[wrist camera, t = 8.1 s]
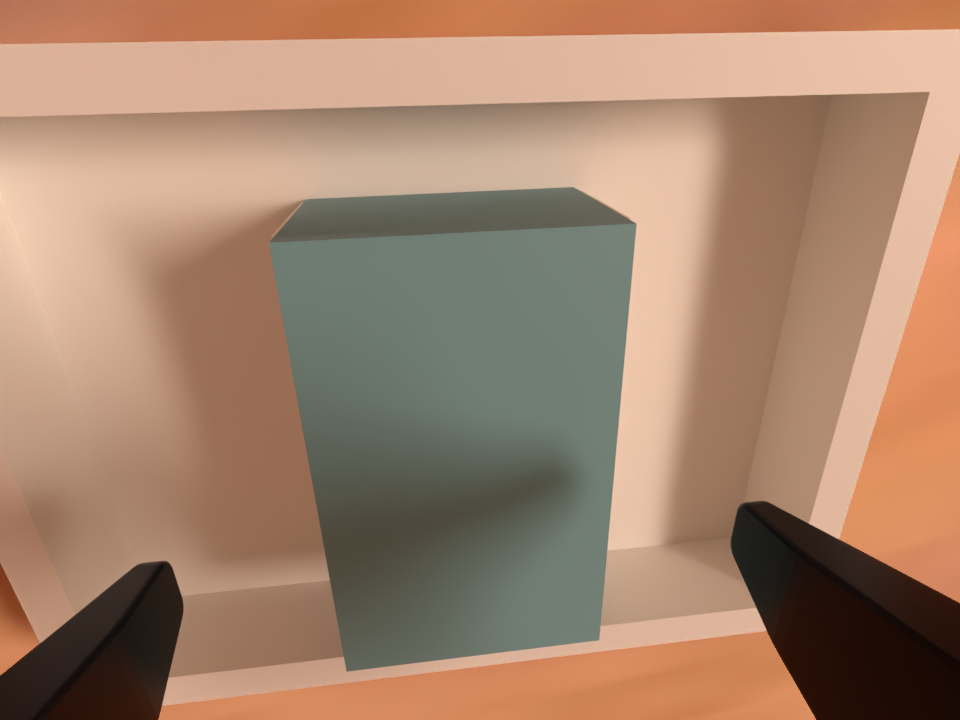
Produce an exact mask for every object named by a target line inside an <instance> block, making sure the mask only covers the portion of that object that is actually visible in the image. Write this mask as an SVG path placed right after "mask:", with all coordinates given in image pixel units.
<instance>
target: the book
mask: <svg viewBox="0 0 960 720" xmlns="http://www.w3.org/2000/svg"><path fill="white" fill-rule="evenodd" d="M636 225H637V224H636V223H635V222H633V221H631V218H629V217H627V216H626V215H624V214H622V213H620V212H619V211H617V210H615V209H613V208H612V207H610V206H608V205H606V204H605V203H603V202H601V201H599V200H598V199H596V198H594V197H592V196H591V195H589V194H587V193H585V192H584V191H582V190H578V189H576V188H574V187H562V188H540V189H518V190H496V191H474V192H452V193H430V194H408V195H386V196H364V197H342V198H319V199H306V200H305V201H304V202H301V203H300V204H299V205H298V207H297V208H296V209H295V210H294V211H293V212H292V213H291V215H290V216H289V217H288V218H287V219H286V220H285V221H284V222H283V224H282V225H281V226H280V227H279V228H278V229H277V230H276V232H275V233H274V234H273V235H272V236H271V241H270V242H269V247H270V253H271V258H272V264H273V269H274V275H275V280H276V286H277V291H278V297H279V302H280V308H281V314H282V319H283V325H284V330H285V336H286V341H287V347H288V352H289V358H290V363H291V369H292V374H293V380H294V385H295V391H296V396H297V402H298V407H299V413H300V418H301V424H302V429H303V435H304V440H305V446H306V451H307V457H308V462H309V468H310V473H311V479H312V484H313V490H314V495H315V501H316V506H317V512H318V517H319V523H320V528H321V534H322V539H323V545H324V550H325V556H326V561H327V567H328V572H329V578H330V583H331V589H332V594H333V600H334V606H335V611H336V617H337V622H338V628H339V633H340V639H341V644H342V650H343V655H344V661H345V666H346V672H348V671H356V670H364V669H372V668H380V667H388V666H396V665H404V664H412V663H420V662H429V661H437V660H445V659H453V658H461V657H469V656H477V655H485V654H493V653H501V652H509V651H517V650H525V649H533V648H541V647H549V646H557V645H566V644H574V643H582V642H590V641H598V640H599V637H600V626H601V615H602V604H603V593H604V582H605V570H606V559H607V548H608V537H609V526H610V515H611V504H612V493H613V481H614V470H615V459H616V448H617V437H618V426H619V415H620V404H621V392H622V381H623V370H624V359H625V348H626V337H627V326H628V315H629V303H630V292H631V281H632V270H633V259H634V248H635V237H636Z"/></svg>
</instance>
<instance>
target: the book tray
mask: <svg viewBox="0 0 960 720" xmlns="http://www.w3.org/2000/svg"><path fill="white" fill-rule="evenodd" d="M959 154H960V29H955V30H891V31H826V32H761V33H697V34H632V35H567V36H503V37H438V38H373V39H308V40H244V41H179V42H114V43H50V44H0V564H1V566H2V568H3V570H4V572H5V574H6V576H7V578H8V580H9V582H10V584H11V586H12V588H13V590H14V592H15V594H16V596H17V598H18V600H19V602H20V604H21V606H22V608H23V610H24V612H25V614H26V616H27V618H28V620H29V622H30V624H31V626H32V628H33V630H34V632H35V634H36V636H37V638H38V640H39V642H40V643H41V642H42V641H44V640H45V639H46V638H47V637H49V636H50V635H51V634H52V633H53V632H55V631H56V630H57V629H58V628H60V627H61V626H62V625H63V624H64V623H66V622H67V621H68V620H69V619H71V618H72V617H73V616H74V615H75V614H77V613H78V612H79V611H80V610H82V609H83V608H84V607H85V606H86V605H88V604H89V603H90V602H91V601H93V600H94V599H95V598H96V597H98V596H99V595H100V594H101V593H102V592H104V591H105V590H106V589H107V588H109V587H110V586H111V585H112V584H113V583H115V582H116V581H117V580H118V579H120V578H121V577H122V576H123V575H124V574H126V573H127V572H128V571H129V570H131V569H132V568H133V567H135V566H136V565H138V564H140V563H145V562H155V561H167V562H169V563H170V564H171V566H172V568H173V571H174V574H175V577H176V580H177V583H178V586H179V589H180V592H181V595H182V598H183V604H184V611H183V618H182V622H181V626H180V631H179V635H178V639H177V644H176V648H175V652H174V656H173V661H172V665H171V669H170V674H169V678H168V682H167V686H166V691H165V695H164V699H163V703H162V706H165V705H173V704H181V703H189V702H197V701H205V700H213V699H221V698H229V697H237V696H246V695H254V694H262V693H270V692H278V691H286V690H294V689H302V688H310V687H318V686H326V685H334V684H342V683H350V682H359V681H367V680H375V679H383V678H391V677H399V676H407V675H415V674H423V673H431V672H439V671H447V670H455V669H463V668H472V667H480V666H488V665H496V664H504V663H512V662H520V661H528V660H536V659H544V658H552V657H560V656H568V655H577V654H585V653H593V652H601V651H609V650H617V649H625V648H633V647H641V646H649V645H657V644H665V643H673V642H681V641H690V640H698V639H706V638H714V637H722V636H730V635H738V634H746V633H754V632H762V631H767V630H766V628H765V626H764V624H763V622H762V619H761V617H760V615H759V613H758V610H757V608H756V606H755V604H754V602H753V599H752V597H751V595H750V593H749V591H748V588H747V586H746V584H745V582H744V579H743V577H742V575H741V573H740V571H739V568H738V566H737V564H736V562H735V560H734V557H733V555H732V551H731V536H732V531H733V526H734V522H735V517H736V512H737V509H738V507H739V505H740V504H742V503H744V502H753V501H767V502H769V503H771V504H773V505H775V506H777V507H779V508H780V509H782V510H784V511H786V512H788V513H790V514H792V515H794V516H796V517H798V518H799V519H801V520H803V521H805V522H807V523H809V524H811V525H813V526H815V527H816V528H818V529H820V530H822V531H824V532H826V533H828V534H830V535H832V536H834V537H835V538H837V539H839V538H840V535H841V531H842V528H843V525H844V522H845V519H846V515H847V512H848V509H849V506H850V503H851V499H852V496H853V493H854V490H855V487H856V483H857V480H858V477H859V474H860V471H861V467H862V464H863V461H864V458H865V455H866V451H867V448H868V445H869V442H870V439H871V435H872V432H873V429H874V426H875V423H876V419H877V416H878V413H879V410H880V407H881V403H882V400H883V397H884V394H885V391H886V387H887V384H888V381H889V378H890V375H891V371H892V368H893V365H894V362H895V359H896V355H897V352H898V349H899V346H900V343H901V339H902V336H903V333H904V330H905V327H906V323H907V320H908V317H909V314H910V311H911V307H912V304H913V301H914V298H915V295H916V291H917V288H918V285H919V282H920V279H921V275H922V272H923V269H924V266H925V263H926V259H927V256H928V253H929V250H930V247H931V243H932V240H933V237H934V234H935V231H936V227H937V224H938V221H939V218H940V215H941V211H942V208H943V205H944V202H945V199H946V195H947V192H948V189H949V186H950V183H951V179H952V176H953V173H954V170H955V167H956V163H957V160H958V157H959ZM562 187H574V188H576V189H578V190H582V191H584V192H585V193H587V194H589V195H591V196H592V197H594V198H596V199H598V200H599V201H601V202H603V203H605V204H606V205H608V206H610V207H612V208H613V209H615V210H617V211H619V212H620V213H622V214H624V215H626V216H627V217H629V218H631V221H633V222H635V223H636V224H637V225H636V237H635V248H634V259H633V270H632V281H631V292H630V303H629V315H628V326H627V337H626V348H625V359H624V370H623V381H622V392H621V404H620V415H619V426H618V437H617V448H616V459H615V470H614V481H613V493H612V504H611V515H610V526H609V537H608V548H607V559H606V570H605V582H604V593H603V604H602V615H601V626H600V637H599V640H598V641H590V642H582V643H574V644H566V645H557V646H549V647H541V648H533V649H525V650H517V651H509V652H501V653H493V654H485V655H477V656H469V657H461V658H453V659H445V660H437V661H429V662H420V663H412V664H404V665H396V666H388V667H380V668H372V669H364V670H356V671H348V672H346V666H345V661H344V655H343V650H342V644H341V639H340V633H339V628H338V622H337V617H336V611H335V606H334V600H333V594H332V589H331V583H330V578H329V572H328V567H327V561H326V556H325V550H324V545H323V539H322V534H321V528H320V523H319V517H318V512H317V506H316V501H315V495H314V490H313V484H312V479H311V473H310V468H309V462H308V457H307V451H306V446H305V440H304V435H303V429H302V424H301V418H300V413H299V407H298V402H297V396H296V391H295V385H294V380H293V374H292V369H291V363H290V358H289V352H288V347H287V341H286V336H285V330H284V325H283V319H282V314H281V308H280V302H279V297H278V291H277V286H276V280H275V275H274V269H273V264H272V258H271V253H270V247H269V242H270V241H271V236H272V235H273V234H274V233H275V232H276V230H277V229H278V228H279V227H280V226H281V225H282V224H283V222H284V221H285V220H286V219H287V218H288V217H289V216H290V215H291V213H292V212H293V211H294V210H295V209H296V208H297V207H298V205H299V204H300V203H301V202H304V201H305V200H306V199H319V198H342V197H364V196H386V195H408V194H430V193H452V192H474V191H496V190H518V189H540V188H562Z"/></svg>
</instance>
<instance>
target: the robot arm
mask: <svg viewBox="0 0 960 720" xmlns="http://www.w3.org/2000/svg"><path fill="white" fill-rule="evenodd" d="M731 551H732V555H733V557H734V560H735V562H736V564H737V566H738V568H739V571H740V573H741V575H742V577H743V579H744V582H745V584H746V586H747V588H748V591H749V593H750V595H751V597H752V599H753V602H754V604H755V606H756V608H757V610H758V613H759V615H760V617H761V619H762V622H763V624H764V626H765V628H766V630H767V632H768V634H769V636H770V638H771V640H772V643H773V644H774V646H775V648H776V650H777V652H778V653H779V655H780V657H781V659H782V661H783V662H784V664H785V666H786V668H787V669H788V671H789V673H790V674H791V676H792V678H793V680H794V681H795V683H796V685H797V687H798V688H799V690H800V692H801V694H802V695H803V697H804V699H805V701H806V702H807V704H808V706H809V707H810V709H811V711H812V713H813V714H814V716H815V718H816V720H960V603H959V602H957V601H955V600H953V599H951V598H949V597H947V596H945V595H943V594H942V593H940V592H938V591H936V590H934V589H932V588H930V587H928V586H926V585H924V584H923V583H921V582H919V581H917V580H915V579H913V578H911V577H909V576H907V575H906V574H904V573H902V572H900V571H898V570H896V569H894V568H892V567H890V566H888V565H887V564H885V563H883V562H881V561H879V560H877V559H875V558H873V557H871V556H870V555H868V554H866V553H864V552H862V551H860V550H858V549H856V548H854V547H852V546H851V545H849V544H847V543H845V542H843V541H841V540H839V539H837V538H835V537H834V536H832V535H830V534H828V533H826V532H824V531H822V530H820V529H818V528H816V527H815V526H813V525H811V524H809V523H807V522H805V521H803V520H801V519H799V518H798V517H796V516H794V515H792V514H790V513H788V512H786V511H784V510H782V509H780V508H779V507H777V506H775V505H773V504H771V503H769V502H767V501H753V502H744V503H742V504H740V505H739V507H738V509H737V512H736V517H735V522H734V526H733V531H732V536H731ZM183 611H184V604H183V598H182V595H181V592H180V589H179V586H178V583H177V580H176V577H175V574H174V571H173V568H172V566H171V564H170V563H169V562H167V561H155V562H145V563H140V564H138V565H136V566H135V567H133V568H132V569H131V570H129V571H128V572H127V573H126V574H124V575H123V576H122V577H121V578H120V579H118V580H117V581H116V582H115V583H113V584H112V585H111V586H110V587H109V588H107V589H106V590H105V591H104V592H102V593H101V594H100V595H99V596H98V597H96V598H95V599H94V600H93V601H91V602H90V603H89V604H88V605H86V606H85V607H84V608H83V609H82V610H80V611H79V612H78V613H77V614H75V615H74V616H73V617H72V618H71V619H69V620H68V621H67V622H66V623H64V624H63V625H62V626H61V627H60V628H58V629H57V630H56V631H55V632H53V633H52V634H51V635H50V636H49V637H47V638H46V639H45V640H44V641H42V642H41V643H40V644H39V645H37V646H36V647H35V648H34V649H33V650H31V651H30V652H29V653H28V654H26V655H25V656H24V657H23V658H22V659H20V660H19V661H18V662H17V663H15V664H14V665H13V666H12V667H11V668H9V669H8V670H7V671H6V672H4V673H3V674H2V675H1V676H0V720H158V719H159V715H160V711H161V707H162V703H163V699H164V695H165V691H166V686H167V682H168V678H169V674H170V669H171V665H172V661H173V656H174V652H175V648H176V644H177V639H178V635H179V631H180V626H181V622H182V618H183Z"/></svg>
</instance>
